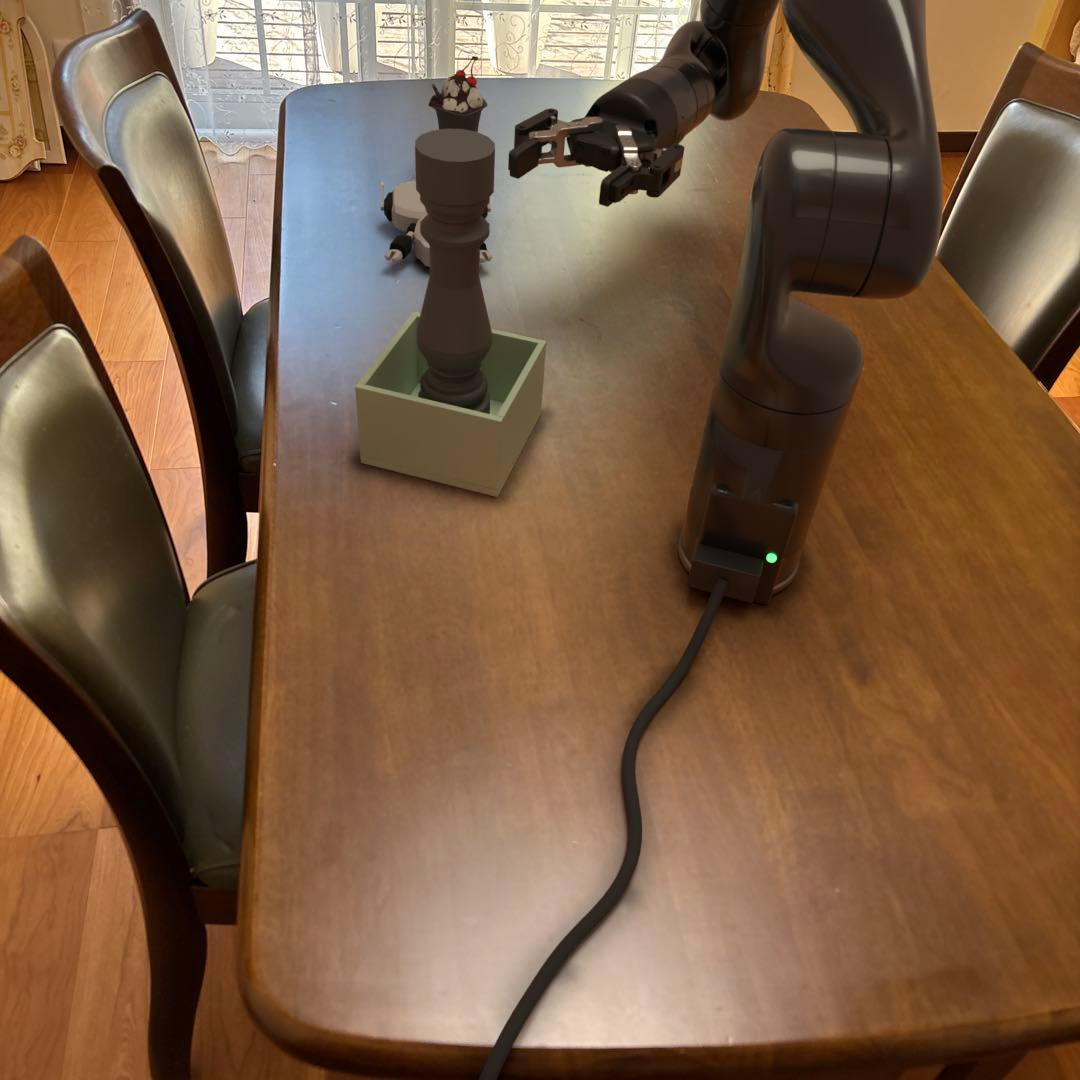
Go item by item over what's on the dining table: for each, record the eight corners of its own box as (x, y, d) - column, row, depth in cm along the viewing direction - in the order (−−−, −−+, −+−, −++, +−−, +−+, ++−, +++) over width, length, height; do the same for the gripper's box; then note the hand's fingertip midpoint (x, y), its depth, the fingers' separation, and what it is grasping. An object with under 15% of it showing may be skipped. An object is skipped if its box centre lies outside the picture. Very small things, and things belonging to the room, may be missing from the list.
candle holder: (503, 435, 89) (516, 151, 71) (443, 459, 86) (442, 170, 69) (463, 399, 92) (466, 120, 75) (404, 422, 89) (393, 137, 72)
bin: (497, 497, 84) (501, 421, 79) (360, 463, 86) (354, 386, 81) (540, 414, 93) (546, 340, 87) (415, 384, 95) (413, 311, 89)
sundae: (495, 184, 126) (500, 56, 116) (464, 202, 122) (465, 72, 112) (452, 169, 129) (452, 43, 118) (420, 187, 124) (417, 58, 114)
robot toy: (496, 284, 110) (487, 210, 120) (497, 247, 107) (488, 175, 117) (381, 284, 109) (381, 209, 119) (379, 246, 106) (380, 173, 115)
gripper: (578, 60, 94) (485, 113, 84) (721, 97, 90) (641, 158, 79) (571, 140, 99) (483, 200, 89) (706, 179, 95) (629, 247, 84)
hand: (557, 180), depth 84 cm, fingers open, 8 cm apart
